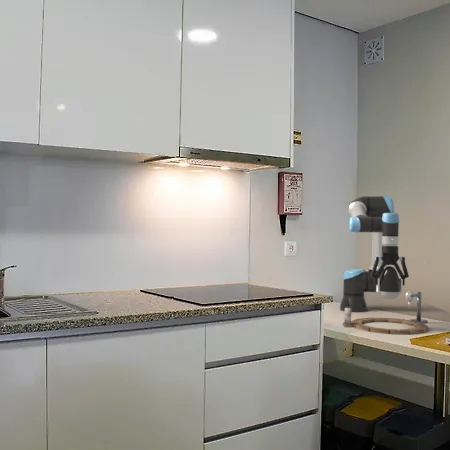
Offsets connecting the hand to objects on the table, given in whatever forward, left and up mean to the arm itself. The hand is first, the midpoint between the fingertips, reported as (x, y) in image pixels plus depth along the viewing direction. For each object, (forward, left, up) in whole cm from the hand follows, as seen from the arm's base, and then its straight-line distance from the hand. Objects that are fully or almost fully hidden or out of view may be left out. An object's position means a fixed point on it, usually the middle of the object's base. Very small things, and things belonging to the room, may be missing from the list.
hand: (389, 292), depth 262 cm
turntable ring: (0, -2, -17) cm, 17 cm away
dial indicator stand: (-12, +16, -17) cm, 26 cm away
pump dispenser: (0, 0, -3) cm, 3 cm away
